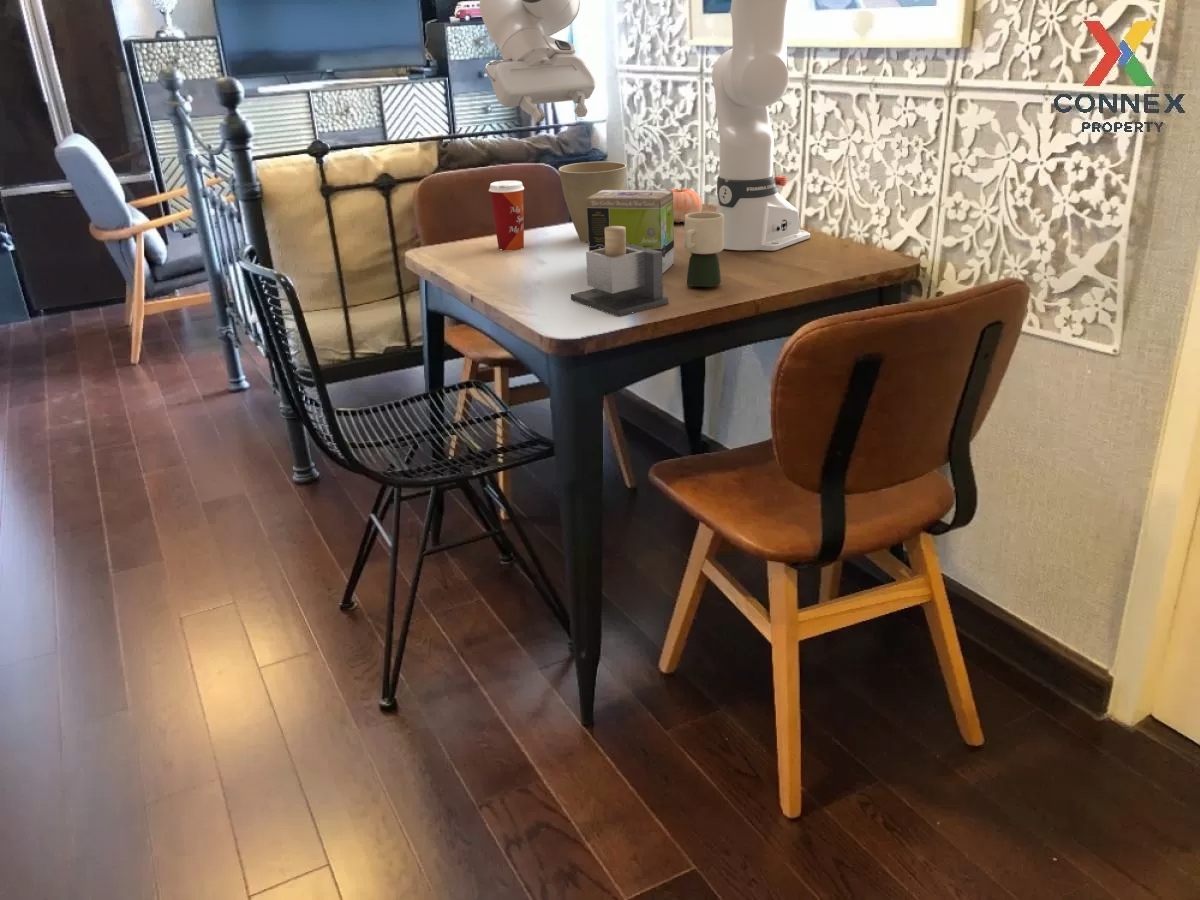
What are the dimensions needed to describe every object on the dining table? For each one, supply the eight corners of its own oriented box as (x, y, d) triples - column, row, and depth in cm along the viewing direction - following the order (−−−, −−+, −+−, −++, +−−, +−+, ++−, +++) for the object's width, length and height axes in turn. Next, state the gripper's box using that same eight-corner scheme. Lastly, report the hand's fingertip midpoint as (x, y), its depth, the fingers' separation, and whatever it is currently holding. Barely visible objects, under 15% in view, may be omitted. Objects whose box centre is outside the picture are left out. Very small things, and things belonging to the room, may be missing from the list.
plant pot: (588, 229, 220) (585, 160, 213) (640, 235, 212) (639, 163, 205) (549, 242, 209) (544, 169, 202) (603, 249, 201) (600, 173, 195)
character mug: (704, 277, 178) (704, 208, 172) (736, 282, 174) (737, 211, 168) (670, 290, 171) (670, 218, 165) (703, 296, 166) (703, 222, 161)
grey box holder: (619, 288, 173) (617, 239, 169) (668, 303, 163) (667, 252, 159) (570, 299, 167) (568, 249, 164) (618, 316, 157) (616, 263, 153)
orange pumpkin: (710, 219, 226) (710, 185, 222) (685, 227, 218) (685, 193, 215) (673, 215, 232) (673, 182, 229) (648, 223, 225) (647, 189, 221)
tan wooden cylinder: (618, 276, 166) (617, 225, 162) (630, 279, 163) (629, 228, 159) (601, 279, 164) (600, 228, 160) (614, 283, 161) (612, 231, 157)
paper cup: (523, 252, 202) (518, 186, 196) (489, 251, 204) (483, 186, 198) (532, 243, 209) (528, 179, 203) (499, 243, 211) (494, 179, 205)
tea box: (675, 263, 188) (674, 188, 182) (661, 276, 180) (661, 198, 173) (604, 260, 193) (602, 187, 187) (588, 272, 184) (585, 196, 178)
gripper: (486, 48, 166) (519, 109, 163) (580, 42, 176) (612, 100, 173) (476, 74, 171) (508, 134, 168) (567, 67, 182) (599, 123, 179)
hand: (562, 117), depth 171 cm, fingers open, 8 cm apart
